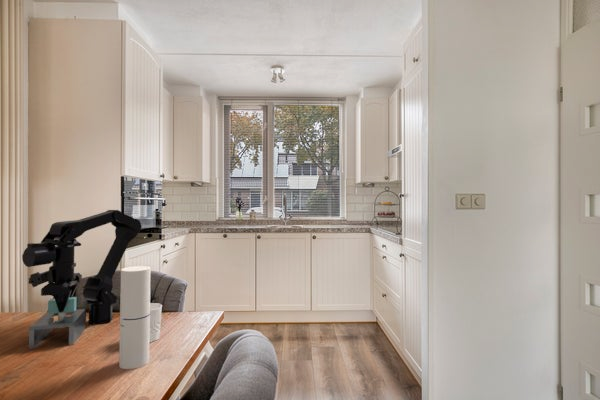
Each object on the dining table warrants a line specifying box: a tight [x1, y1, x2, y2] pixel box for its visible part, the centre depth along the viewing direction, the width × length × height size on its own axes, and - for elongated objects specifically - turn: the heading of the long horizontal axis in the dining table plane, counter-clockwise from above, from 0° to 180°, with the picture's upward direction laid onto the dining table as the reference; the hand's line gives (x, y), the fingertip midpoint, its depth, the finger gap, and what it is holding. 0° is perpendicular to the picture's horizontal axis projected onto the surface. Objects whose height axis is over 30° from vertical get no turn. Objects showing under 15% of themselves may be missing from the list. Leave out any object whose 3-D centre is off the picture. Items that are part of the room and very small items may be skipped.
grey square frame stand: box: [28, 308, 87, 350], centre depth 105 cm, size 14×11×6 cm
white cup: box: [149, 302, 163, 343], centre depth 106 cm, size 8×8×10 cm
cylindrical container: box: [118, 265, 152, 370], centre depth 90 cm, size 7×7×25 cm
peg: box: [47, 296, 77, 329], centre depth 108 cm, size 7×4×8 cm, turn 110°
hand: (62, 310), depth 108 cm, fingers closed on peg, 2 cm apart
